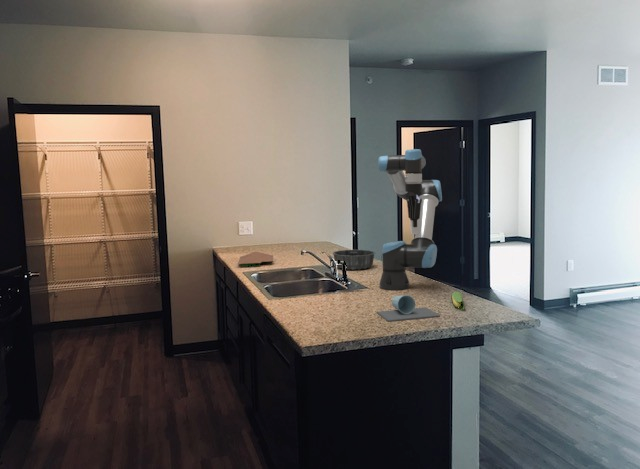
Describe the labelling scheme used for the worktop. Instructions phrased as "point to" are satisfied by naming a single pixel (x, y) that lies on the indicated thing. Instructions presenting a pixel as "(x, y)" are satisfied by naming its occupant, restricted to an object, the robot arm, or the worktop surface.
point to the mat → (416, 314)
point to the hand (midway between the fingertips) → (414, 234)
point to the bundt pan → (355, 258)
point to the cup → (404, 304)
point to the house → (255, 258)
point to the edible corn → (457, 300)
